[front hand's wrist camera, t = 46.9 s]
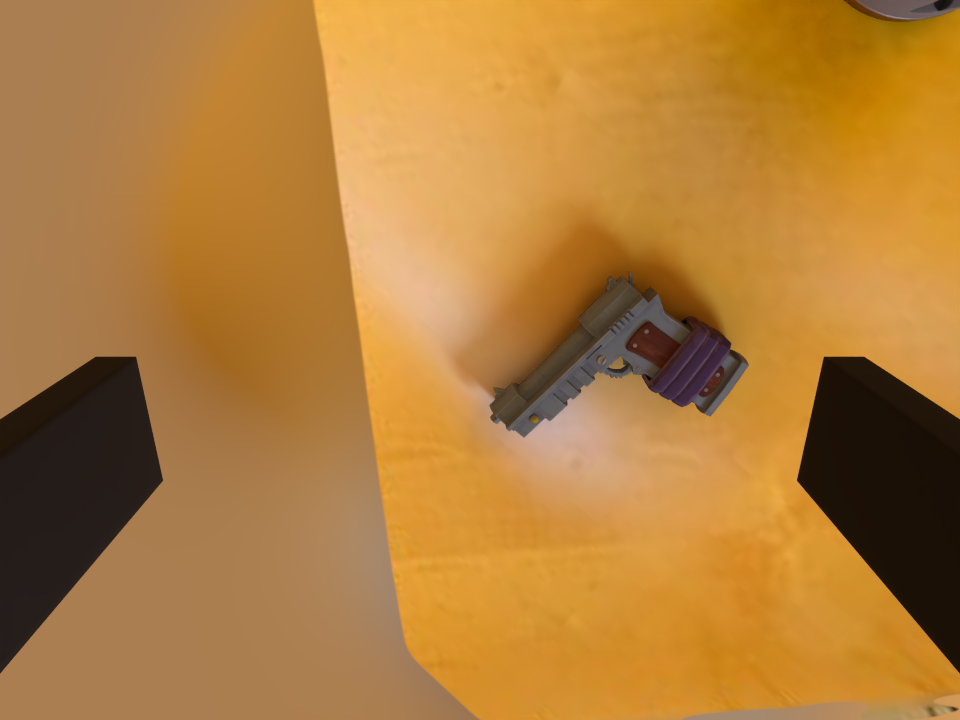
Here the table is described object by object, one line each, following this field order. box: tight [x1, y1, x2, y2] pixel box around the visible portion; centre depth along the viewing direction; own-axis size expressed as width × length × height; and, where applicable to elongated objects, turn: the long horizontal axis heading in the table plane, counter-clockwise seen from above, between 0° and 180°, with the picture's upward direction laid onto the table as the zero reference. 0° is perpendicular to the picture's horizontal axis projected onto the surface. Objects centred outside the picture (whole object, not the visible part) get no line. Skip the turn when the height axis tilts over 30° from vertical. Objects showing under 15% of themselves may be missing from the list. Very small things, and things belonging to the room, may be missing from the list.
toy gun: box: [489, 272, 749, 437], centre depth 54 cm, size 4×19×15 cm
